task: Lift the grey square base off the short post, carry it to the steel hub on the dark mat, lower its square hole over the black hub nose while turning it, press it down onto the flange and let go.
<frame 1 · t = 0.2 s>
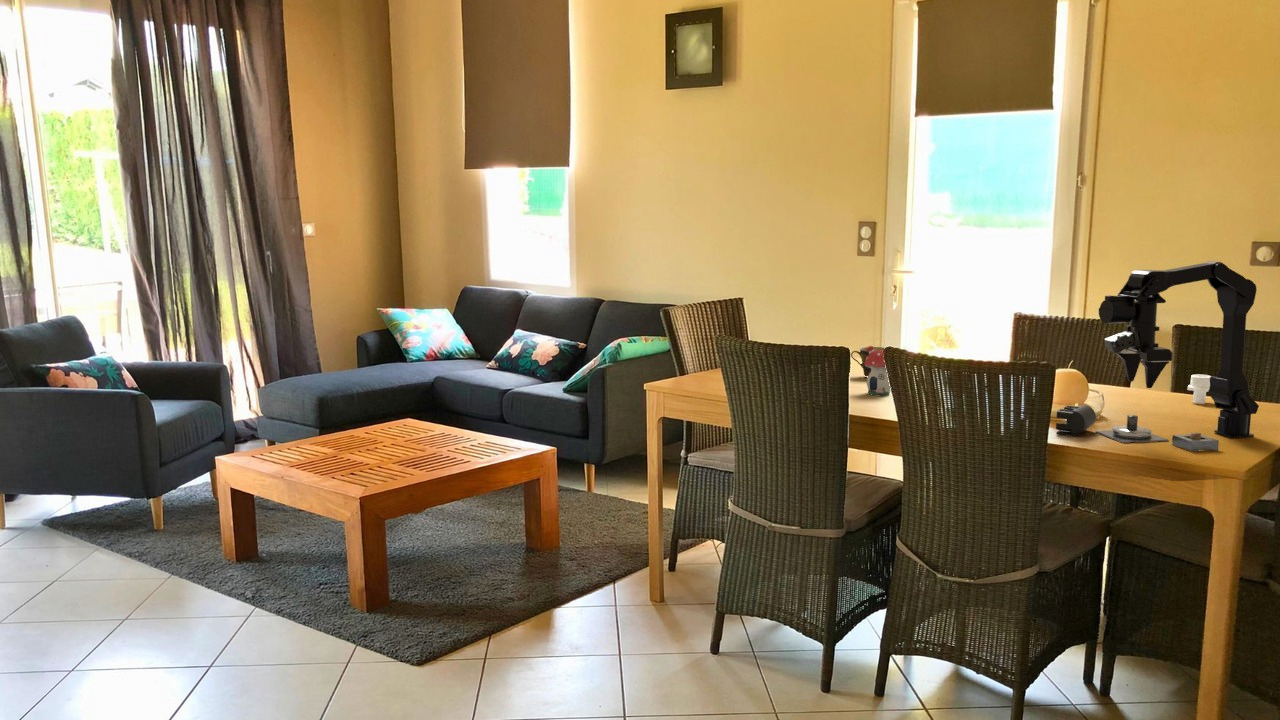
hand: (1139, 384, 251), 14 cm above the table, tool pointing down, fingers open, 9 cm apart
pipe fitting: (1199, 403, 298), on the table
end cap: (1075, 433, 262), on the table
hub: (1131, 436, 257), on the table
stand post: (1194, 447, 245), on the table
ceramic cup: (869, 378, 348), on the table
grey square base: (1194, 447, 245), on the table
decorative ornament: (878, 394, 318), on the table
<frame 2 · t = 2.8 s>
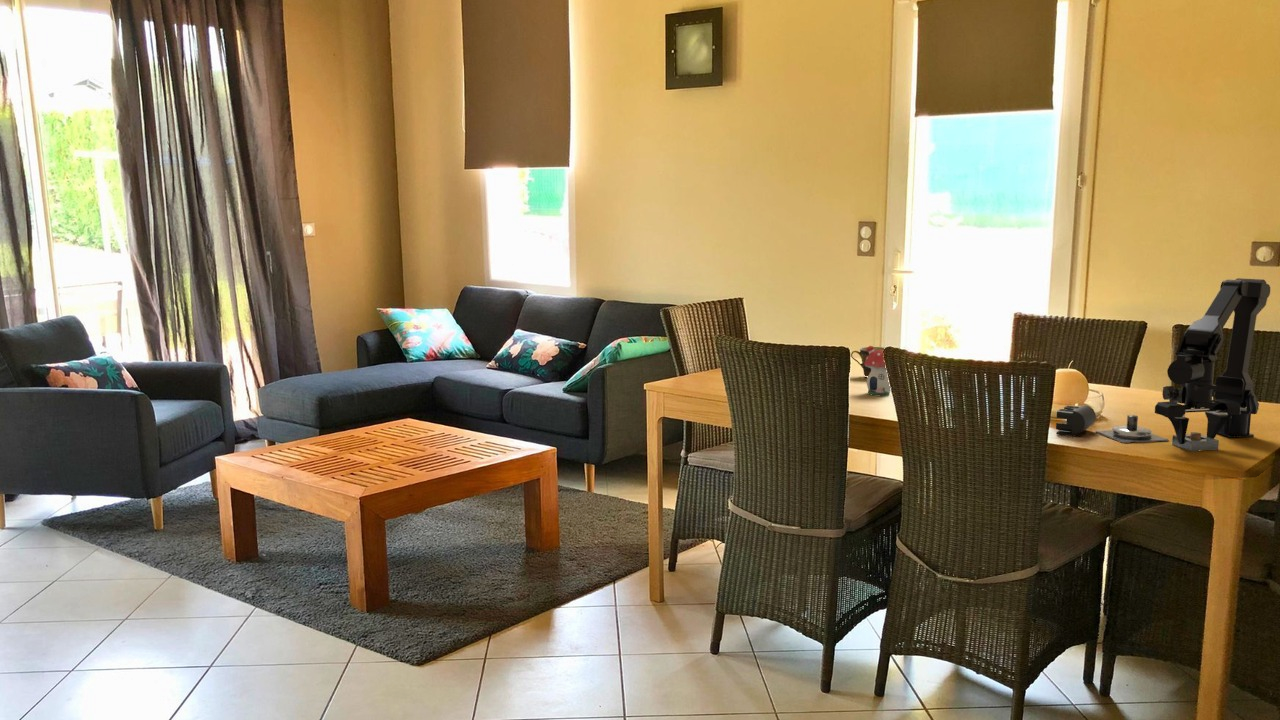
hand: (1195, 443, 245), 1 cm above the table, tool pointing down, fingers closed on grey square base, 7 cm apart
grey square base: (1194, 447, 245), on the table, touching gripper
everything else where it was.
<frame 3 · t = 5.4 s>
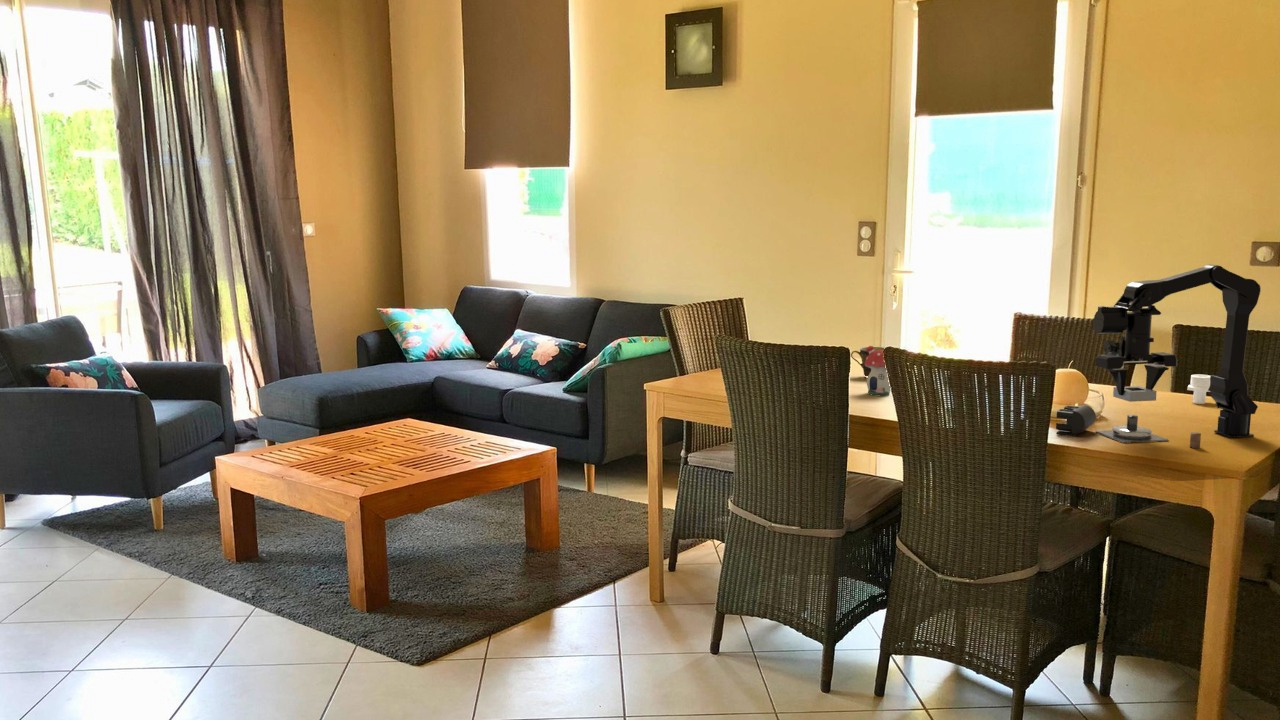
hand: (1134, 394, 255), 11 cm above the table, tool pointing down, fingers closed on grey square base, 7 cm apart
grey square base: (1134, 398, 255), point 10 cm above the table, touching gripper
everything else where it was.
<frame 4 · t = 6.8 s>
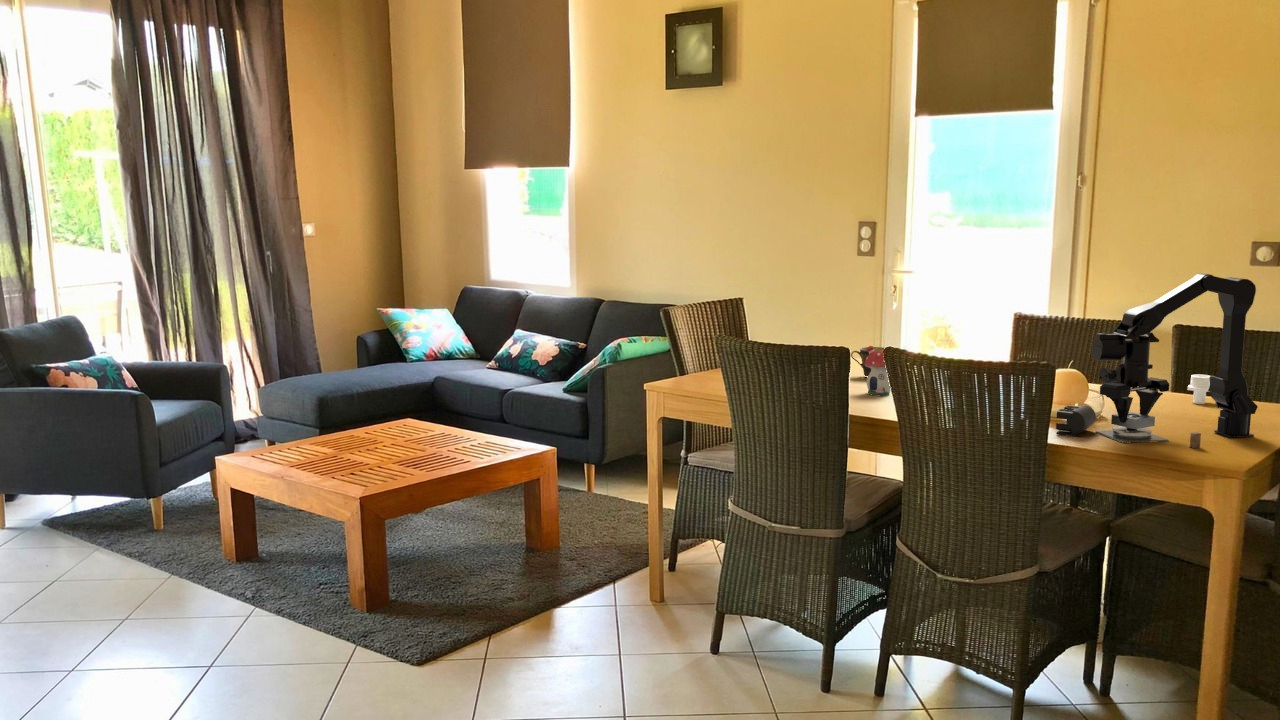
hand: (1132, 421, 256), 4 cm above the table, tool pointing down, fingers closed on grey square base, 7 cm apart
grey square base: (1132, 424, 256), point 3 cm above the table, touching gripper
everything else where it was.
when the fingers open (3 cm above the table, at t = 8.2 s): grey square base stays where it is, resting on hub.
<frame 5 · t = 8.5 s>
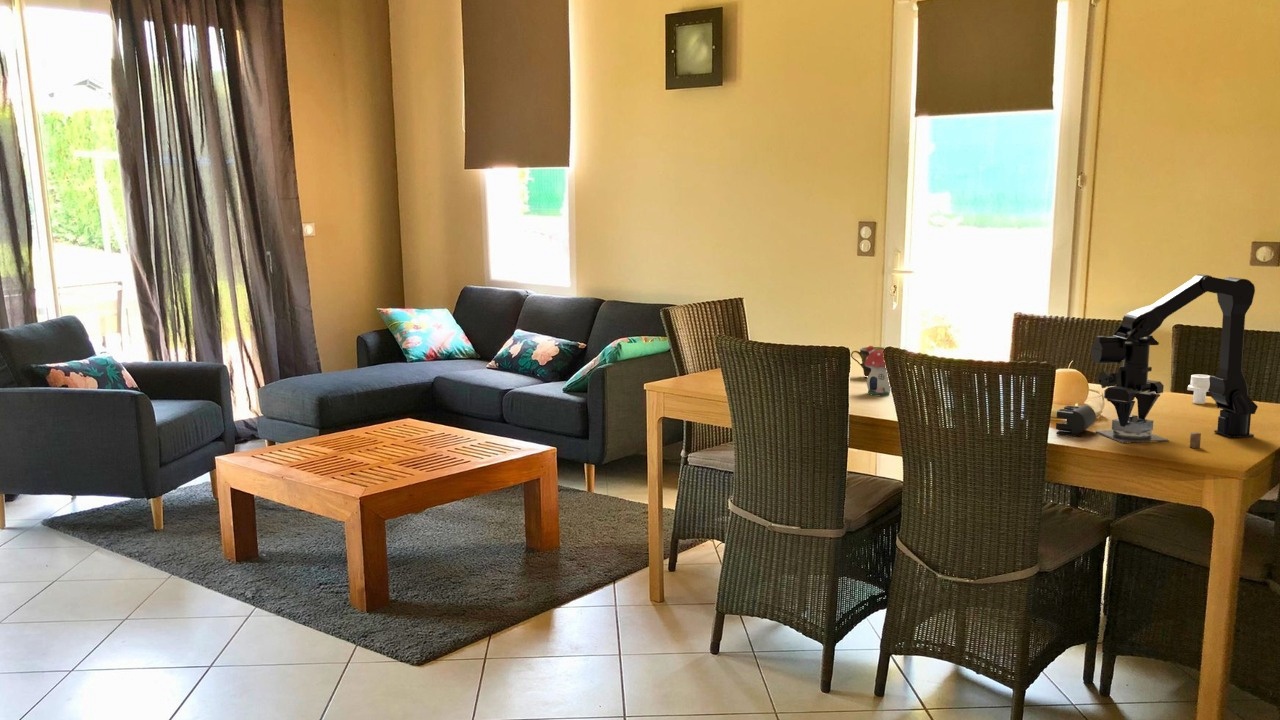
hand: (1132, 423, 256), 3 cm above the table, tool pointing down, fingers open, 9 cm apart
grey square base: (1132, 429, 257), point 2 cm above the table, touching hub
everything else where it was.
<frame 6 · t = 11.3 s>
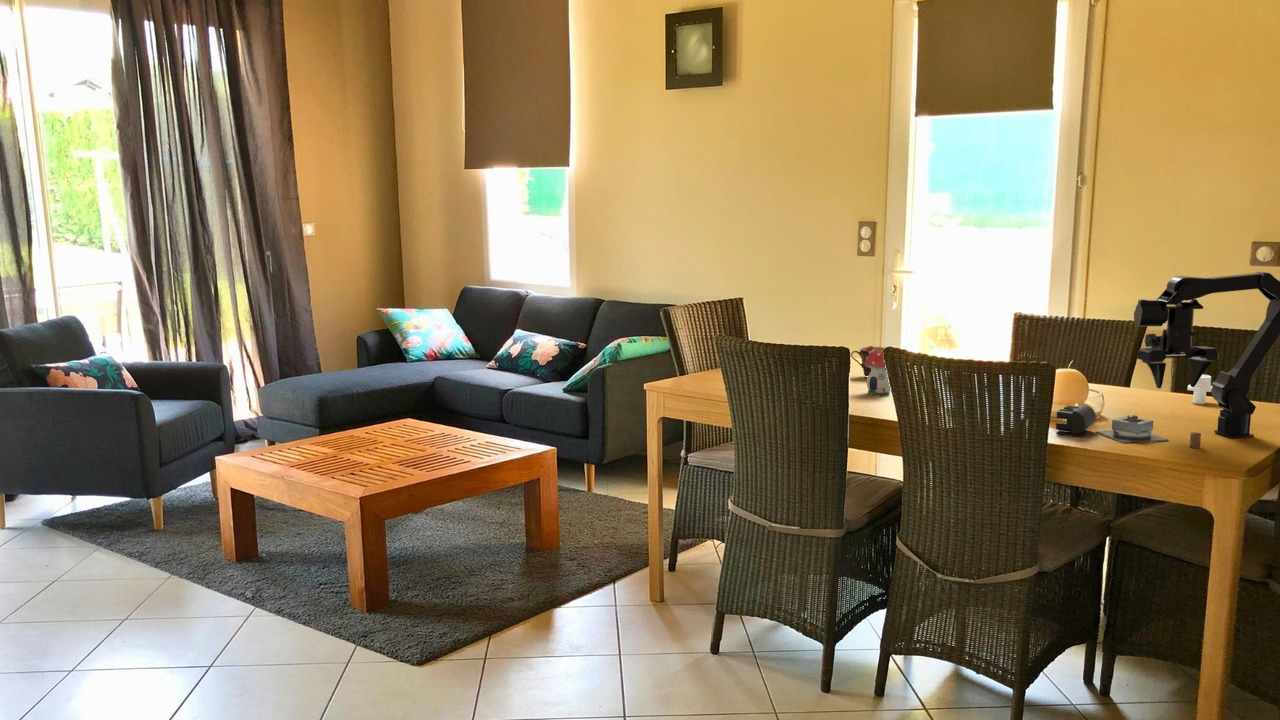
hand: (1175, 387, 258), 12 cm above the table, tool pointing down, fingers open, 9 cm apart
nothing on the table moved.
at the end: grey square base 0.1 cm off-centre on the hub, point 1.9 cm above the hub's base; the gripper is holding nothing; grey square base tilted 0° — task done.
